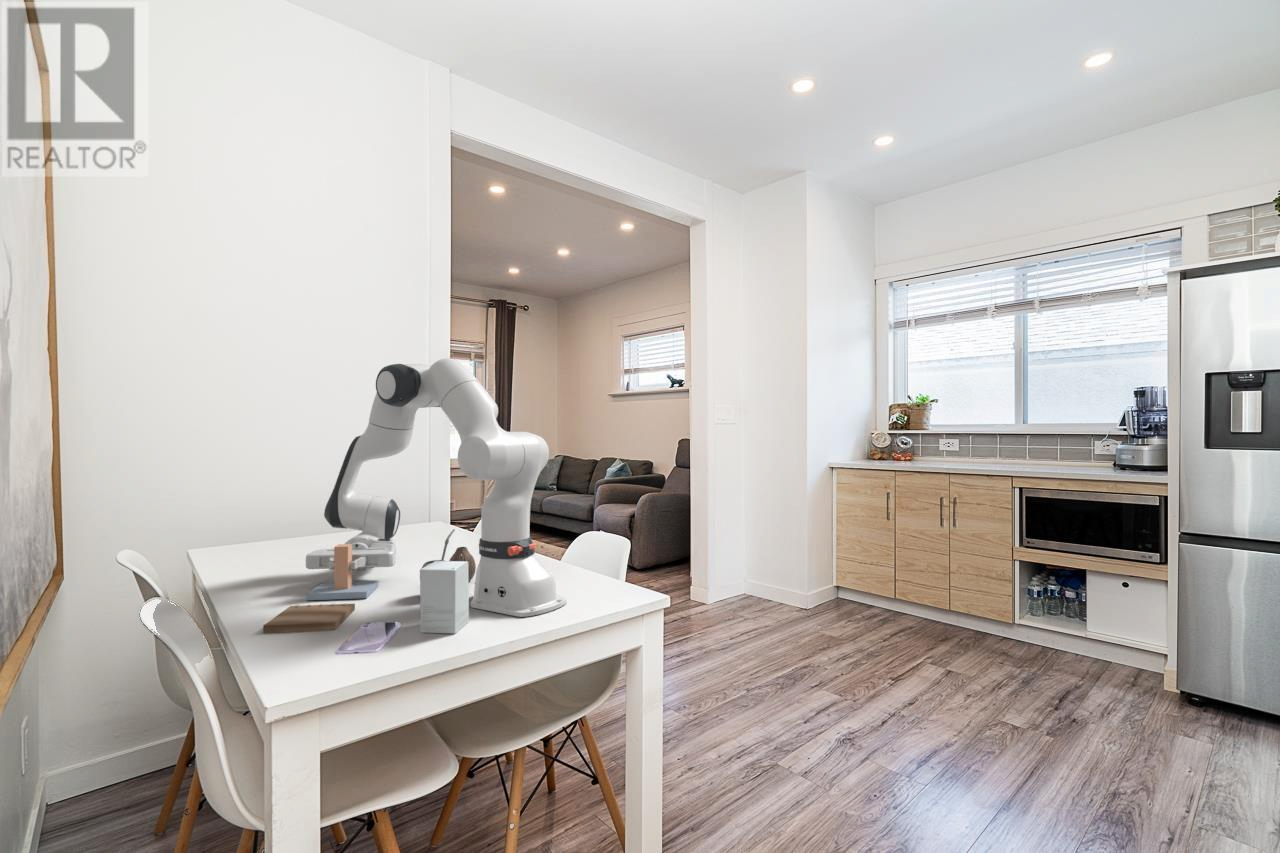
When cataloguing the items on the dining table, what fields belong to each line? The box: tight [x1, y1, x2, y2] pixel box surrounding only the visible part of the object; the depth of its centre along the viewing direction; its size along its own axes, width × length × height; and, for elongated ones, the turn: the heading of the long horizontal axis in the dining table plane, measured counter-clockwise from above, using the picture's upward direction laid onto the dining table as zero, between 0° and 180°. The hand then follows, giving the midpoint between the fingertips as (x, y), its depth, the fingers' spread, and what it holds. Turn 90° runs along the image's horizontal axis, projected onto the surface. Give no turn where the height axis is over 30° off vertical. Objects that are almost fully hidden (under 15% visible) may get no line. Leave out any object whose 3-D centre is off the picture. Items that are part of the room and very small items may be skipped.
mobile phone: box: [335, 621, 402, 655], centre depth 111 cm, size 8×1×15 cm
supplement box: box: [419, 560, 470, 634], centre depth 117 cm, size 7×7×13 cm
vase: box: [448, 546, 477, 582], centre depth 151 cm, size 7×7×9 cm
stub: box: [305, 543, 379, 601], centre depth 139 cm, size 9×13×12 cm
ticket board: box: [262, 603, 356, 634], centre depth 120 cm, size 12×13×2 cm
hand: (342, 565), depth 138 cm, fingers closed on stub, 3 cm apart
